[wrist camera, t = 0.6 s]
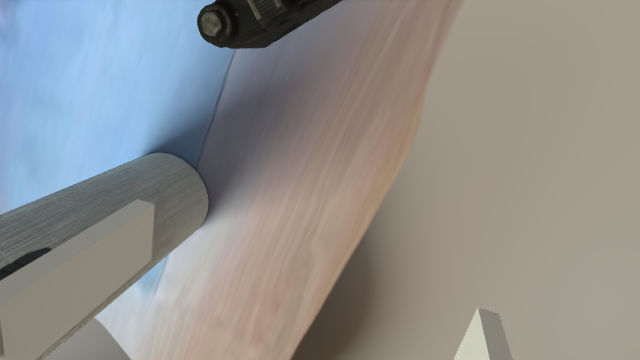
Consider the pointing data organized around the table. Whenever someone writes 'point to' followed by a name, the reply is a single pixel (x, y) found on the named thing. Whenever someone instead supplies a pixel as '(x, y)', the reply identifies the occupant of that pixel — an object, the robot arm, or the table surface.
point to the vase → (104, 200)
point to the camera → (255, 20)
